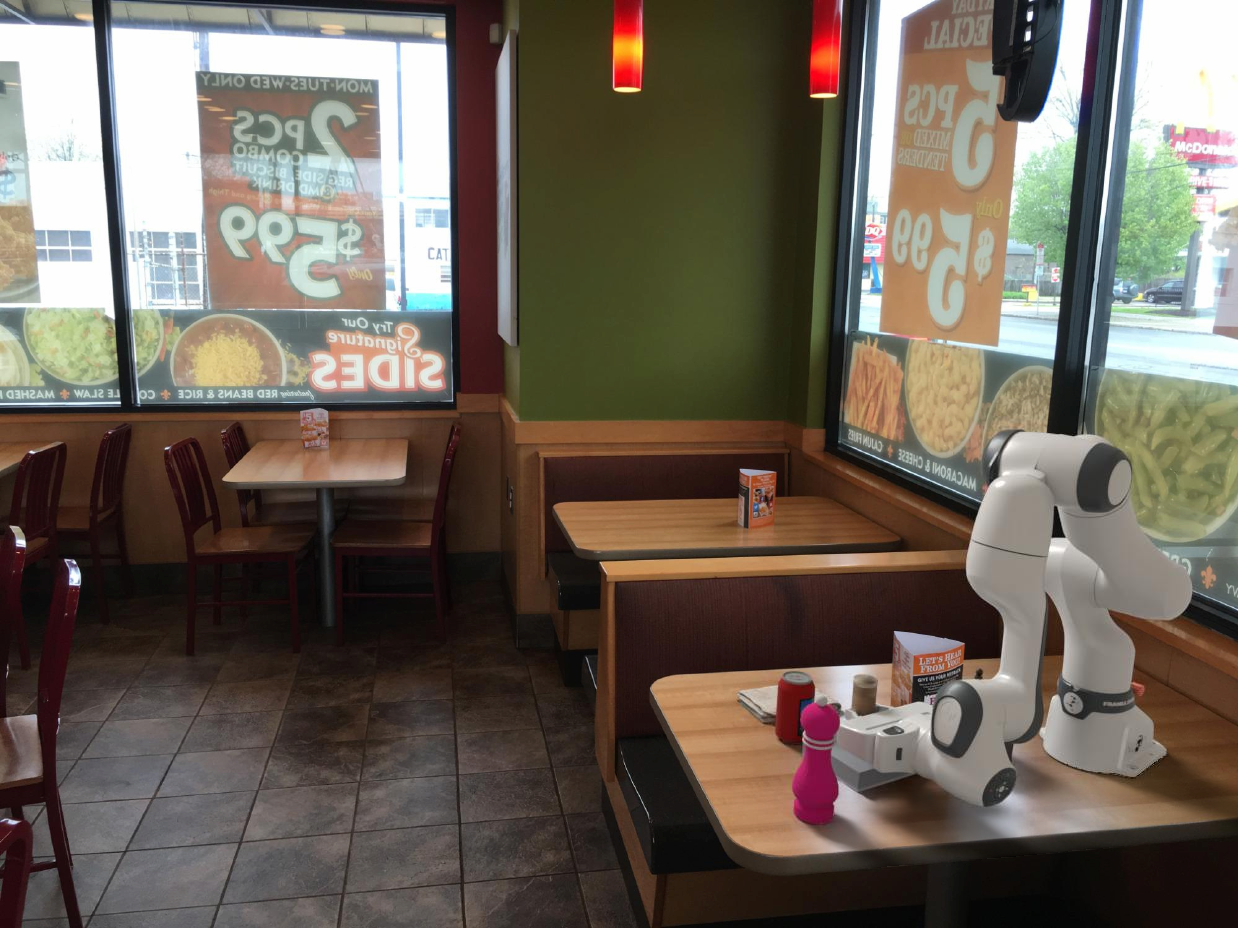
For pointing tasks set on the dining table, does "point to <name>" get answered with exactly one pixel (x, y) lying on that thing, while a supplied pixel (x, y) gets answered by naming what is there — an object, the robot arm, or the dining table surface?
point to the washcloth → (770, 702)
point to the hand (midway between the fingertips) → (859, 709)
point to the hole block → (858, 770)
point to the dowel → (864, 694)
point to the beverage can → (793, 705)
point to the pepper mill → (817, 764)
